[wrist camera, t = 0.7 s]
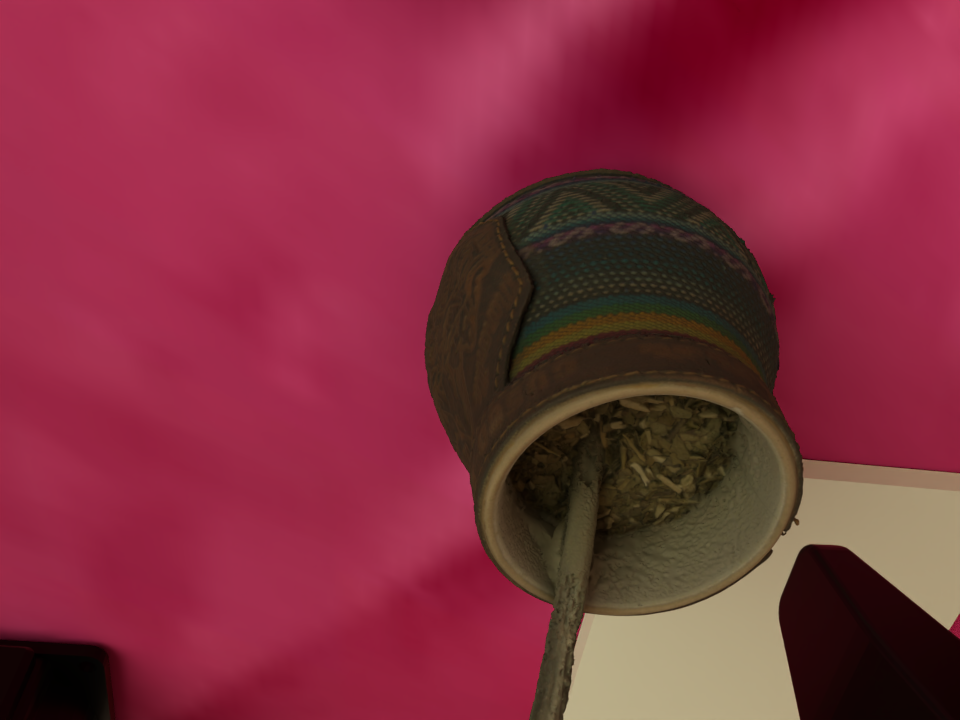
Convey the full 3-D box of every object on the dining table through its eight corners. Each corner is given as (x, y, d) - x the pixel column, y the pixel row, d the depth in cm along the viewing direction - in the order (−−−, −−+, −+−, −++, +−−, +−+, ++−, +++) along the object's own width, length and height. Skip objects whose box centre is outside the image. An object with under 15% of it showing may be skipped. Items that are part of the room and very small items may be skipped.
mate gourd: (787, 172, 20) (1025, 470, 12) (661, 430, 25) (776, 785, 16) (474, 91, 19) (506, 364, 11) (395, 379, 23) (376, 735, 15)
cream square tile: (870, 720, 32) (879, 741, 31) (557, 703, 31) (560, 724, 30) (1016, 478, 26) (1031, 497, 25) (636, 444, 25) (642, 463, 24)
